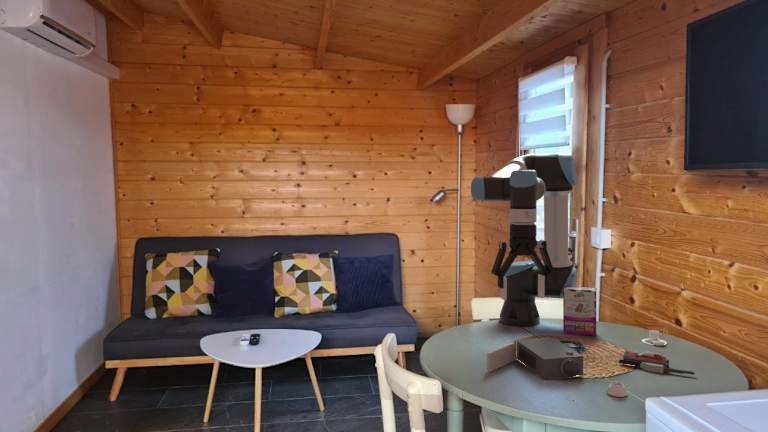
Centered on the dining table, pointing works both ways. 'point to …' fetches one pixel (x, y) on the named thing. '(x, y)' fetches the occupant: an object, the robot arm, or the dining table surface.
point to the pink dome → (616, 389)
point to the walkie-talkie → (650, 362)
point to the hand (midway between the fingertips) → (522, 298)
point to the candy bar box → (579, 310)
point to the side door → (501, 356)
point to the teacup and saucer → (654, 338)
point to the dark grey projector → (549, 358)
